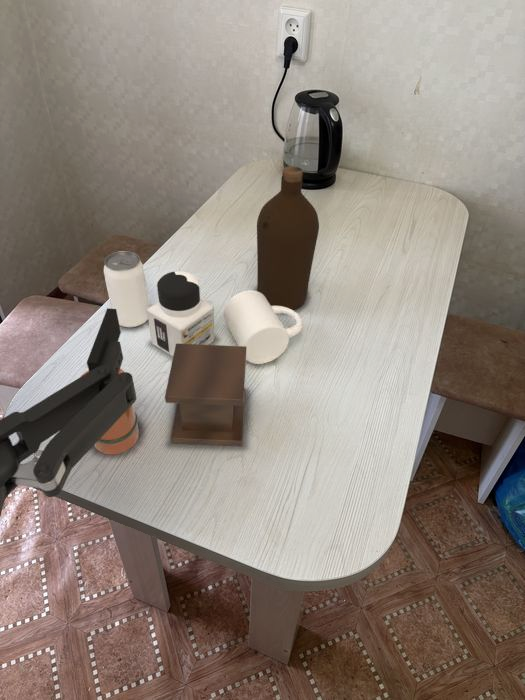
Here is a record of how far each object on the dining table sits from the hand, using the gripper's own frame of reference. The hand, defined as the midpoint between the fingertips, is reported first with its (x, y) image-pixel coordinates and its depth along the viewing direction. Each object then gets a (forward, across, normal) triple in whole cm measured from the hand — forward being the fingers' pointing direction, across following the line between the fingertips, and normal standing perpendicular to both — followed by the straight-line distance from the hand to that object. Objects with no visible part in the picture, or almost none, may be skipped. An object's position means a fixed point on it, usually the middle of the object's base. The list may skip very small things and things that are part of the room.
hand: (35, 316), depth 44 cm
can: (+36, -3, -30) cm, 47 cm away
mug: (+31, +21, -30) cm, 48 cm away
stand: (+14, +13, -30) cm, 35 cm away
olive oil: (+44, +24, -30) cm, 58 cm away
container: (+30, +7, -30) cm, 43 cm away
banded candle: (+10, 0, -30) cm, 31 cm away
